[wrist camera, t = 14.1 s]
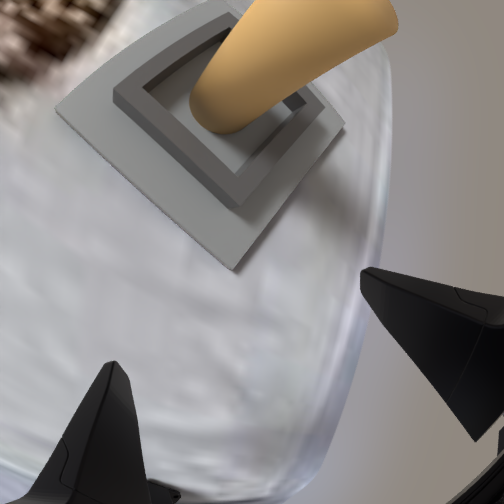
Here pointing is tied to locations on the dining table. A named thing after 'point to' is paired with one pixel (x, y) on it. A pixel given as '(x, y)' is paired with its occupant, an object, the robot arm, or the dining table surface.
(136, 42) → the socket
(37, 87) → the dining table surface
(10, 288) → the dining table surface
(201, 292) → the dining table surface
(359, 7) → the rounded tan peg
